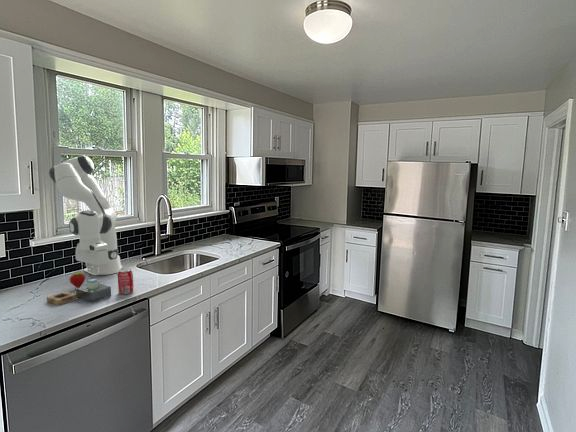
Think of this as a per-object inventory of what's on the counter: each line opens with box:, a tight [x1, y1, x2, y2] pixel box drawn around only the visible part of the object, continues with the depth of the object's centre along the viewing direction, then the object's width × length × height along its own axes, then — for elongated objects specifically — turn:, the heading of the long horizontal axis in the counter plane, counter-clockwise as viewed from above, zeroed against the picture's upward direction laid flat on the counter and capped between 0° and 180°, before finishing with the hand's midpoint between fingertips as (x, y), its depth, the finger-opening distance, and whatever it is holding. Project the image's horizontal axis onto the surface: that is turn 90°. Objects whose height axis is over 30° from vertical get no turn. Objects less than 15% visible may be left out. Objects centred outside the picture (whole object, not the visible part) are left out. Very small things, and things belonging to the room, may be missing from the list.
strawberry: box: [69, 269, 86, 288], centre depth 175 cm, size 6×8×10 cm
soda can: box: [117, 268, 134, 295], centre depth 171 cm, size 7×7×12 cm
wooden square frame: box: [46, 290, 77, 306], centre depth 159 cm, size 9×9×2 cm
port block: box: [75, 282, 112, 304], centre depth 164 cm, size 12×10×5 cm
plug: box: [86, 278, 99, 290], centre depth 164 cm, size 3×3×9 cm
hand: (92, 271), depth 162 cm, fingers closed
